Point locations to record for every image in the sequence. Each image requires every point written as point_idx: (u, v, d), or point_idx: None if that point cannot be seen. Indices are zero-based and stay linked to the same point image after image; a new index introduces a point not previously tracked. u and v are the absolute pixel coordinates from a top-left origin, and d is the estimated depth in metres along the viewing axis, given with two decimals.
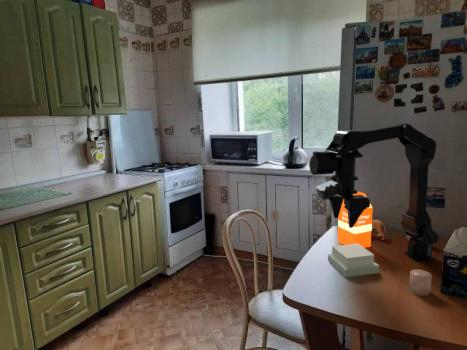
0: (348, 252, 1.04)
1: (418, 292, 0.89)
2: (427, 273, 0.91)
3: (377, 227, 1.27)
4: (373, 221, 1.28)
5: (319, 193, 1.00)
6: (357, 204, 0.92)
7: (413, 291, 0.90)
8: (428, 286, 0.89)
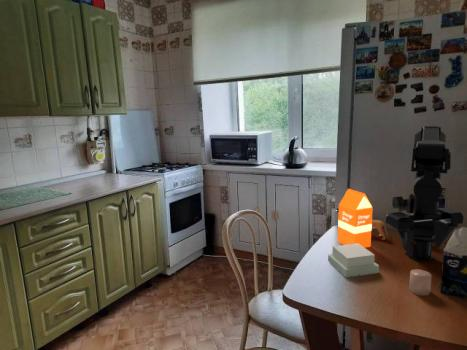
0: (349, 252, 1.04)
1: (418, 292, 0.89)
2: (427, 273, 0.91)
3: (378, 227, 1.26)
4: (374, 221, 1.28)
5: None
6: (389, 220, 0.87)
7: (413, 291, 0.90)
8: (428, 286, 0.89)
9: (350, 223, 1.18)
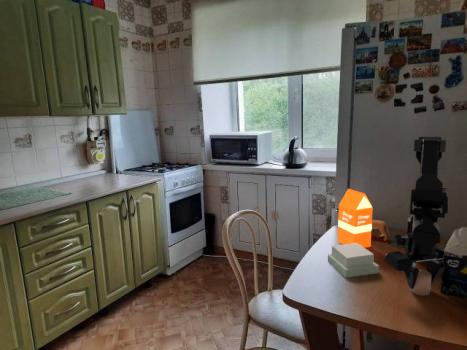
0: (348, 252, 1.04)
1: (418, 292, 0.89)
2: (427, 273, 0.91)
3: (380, 227, 1.26)
4: (375, 221, 1.28)
5: None
6: (388, 260, 0.89)
7: (413, 291, 0.90)
8: (428, 286, 0.89)
9: (350, 223, 1.18)
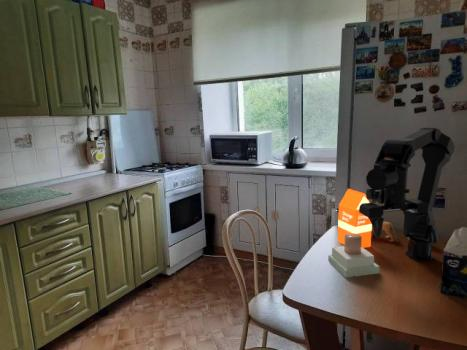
0: None
1: (350, 251, 1.03)
2: (358, 235, 1.04)
3: (386, 229, 1.25)
4: None
5: None
6: (361, 209, 0.96)
7: (346, 251, 1.04)
8: (358, 246, 1.02)
9: (350, 223, 1.18)
